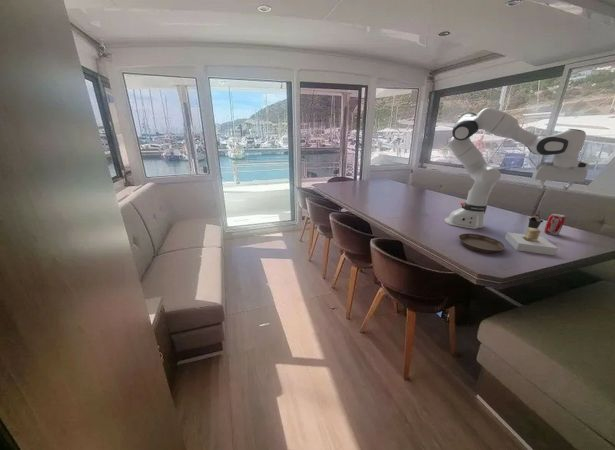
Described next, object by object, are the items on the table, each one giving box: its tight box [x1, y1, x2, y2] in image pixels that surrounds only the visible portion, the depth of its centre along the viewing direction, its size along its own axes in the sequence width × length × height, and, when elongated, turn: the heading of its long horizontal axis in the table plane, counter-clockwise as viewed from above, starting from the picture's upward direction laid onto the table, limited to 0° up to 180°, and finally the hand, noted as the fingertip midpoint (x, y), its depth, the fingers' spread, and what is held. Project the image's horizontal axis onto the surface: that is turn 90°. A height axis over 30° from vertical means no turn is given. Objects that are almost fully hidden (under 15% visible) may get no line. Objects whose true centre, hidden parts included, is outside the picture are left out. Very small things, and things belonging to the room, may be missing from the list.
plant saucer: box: [458, 233, 505, 254], centre depth 131 cm, size 21×21×3 cm
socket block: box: [504, 231, 559, 256], centre depth 131 cm, size 16×16×4 cm
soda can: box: [543, 213, 566, 236], centre depth 148 cm, size 7×7×12 cm
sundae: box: [527, 211, 544, 229], centre depth 143 cm, size 7×7×15 cm
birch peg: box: [524, 227, 541, 242], centre depth 130 cm, size 4×4×10 cm
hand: (553, 189), depth 130 cm, fingers open, 8 cm apart
